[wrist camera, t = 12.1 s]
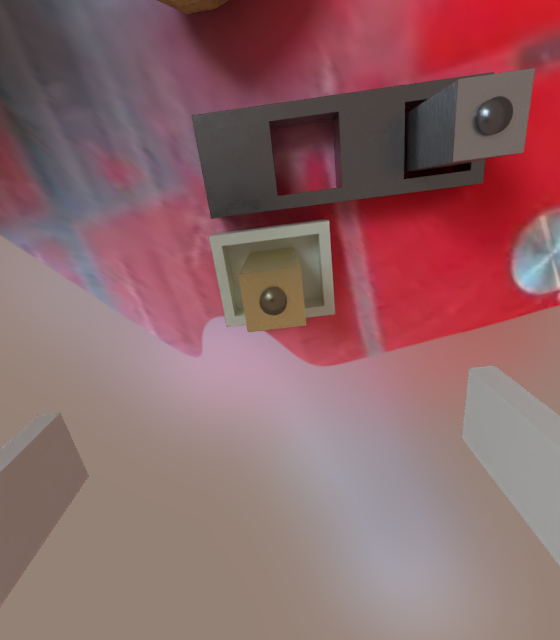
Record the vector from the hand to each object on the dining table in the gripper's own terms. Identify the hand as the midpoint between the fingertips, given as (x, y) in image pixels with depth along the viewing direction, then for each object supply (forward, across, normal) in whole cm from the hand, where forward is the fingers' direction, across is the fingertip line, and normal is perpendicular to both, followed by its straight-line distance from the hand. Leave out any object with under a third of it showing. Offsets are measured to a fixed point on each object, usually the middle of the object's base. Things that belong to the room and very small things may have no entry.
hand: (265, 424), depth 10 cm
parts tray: (+24, 0, 0) cm, 24 cm away
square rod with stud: (+24, +15, +10) cm, 30 cm away
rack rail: (+24, +7, +10) cm, 27 cm away
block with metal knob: (+24, 0, 0) cm, 24 cm away
